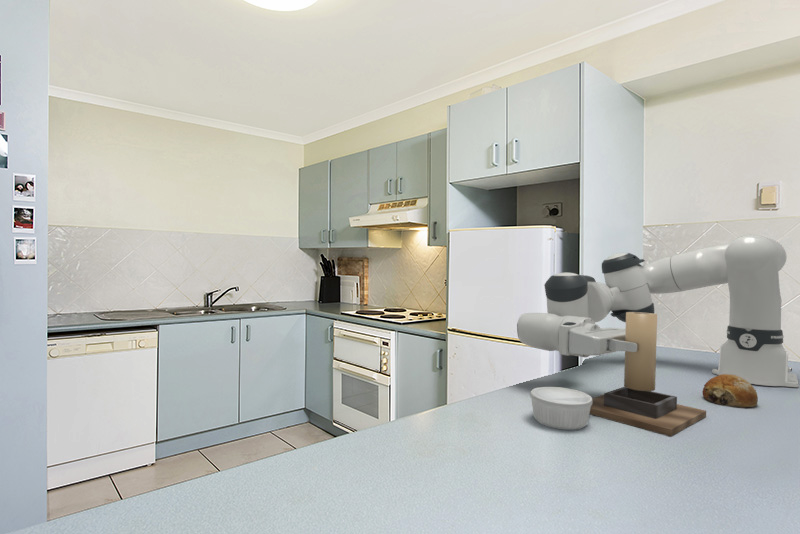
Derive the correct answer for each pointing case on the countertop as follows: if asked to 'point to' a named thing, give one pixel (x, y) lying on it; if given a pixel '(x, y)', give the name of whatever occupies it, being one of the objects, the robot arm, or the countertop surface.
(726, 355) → the robot arm
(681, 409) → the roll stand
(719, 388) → the bread roll
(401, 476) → the countertop surface
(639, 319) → the beige pillar candle
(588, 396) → the ramekin
